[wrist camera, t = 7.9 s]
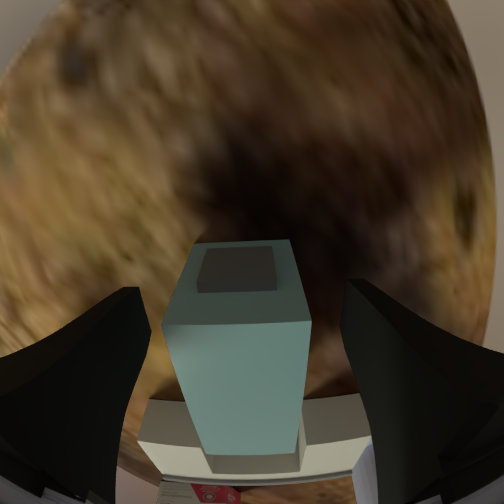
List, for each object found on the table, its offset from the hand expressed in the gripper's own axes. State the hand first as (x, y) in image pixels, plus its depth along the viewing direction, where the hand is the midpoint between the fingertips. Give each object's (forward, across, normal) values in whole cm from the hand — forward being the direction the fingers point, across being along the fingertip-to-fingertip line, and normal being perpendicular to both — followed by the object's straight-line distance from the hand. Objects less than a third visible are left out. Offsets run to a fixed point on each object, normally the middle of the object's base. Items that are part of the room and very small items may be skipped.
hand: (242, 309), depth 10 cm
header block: (+3, 0, +13) cm, 14 cm away
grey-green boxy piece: (+3, 0, +3) cm, 4 cm away
